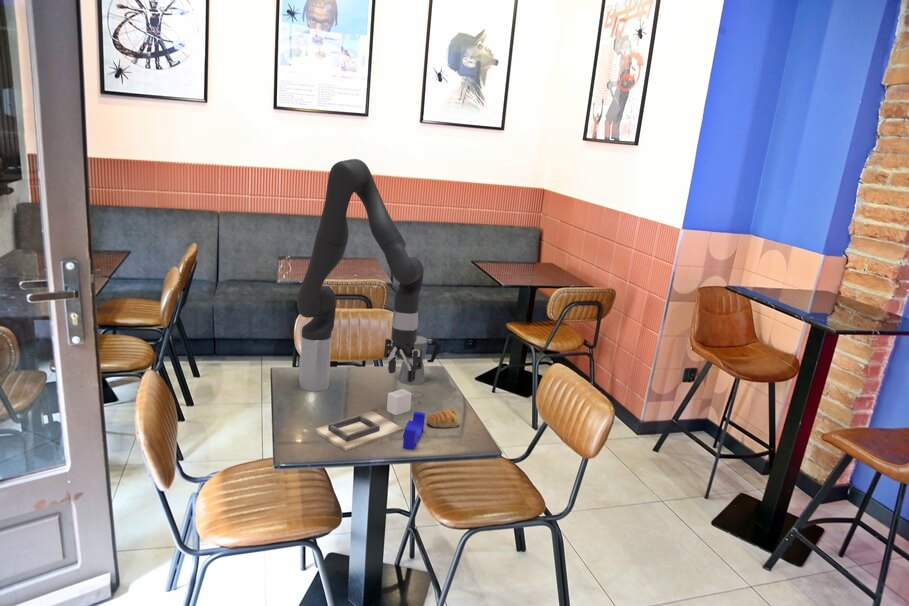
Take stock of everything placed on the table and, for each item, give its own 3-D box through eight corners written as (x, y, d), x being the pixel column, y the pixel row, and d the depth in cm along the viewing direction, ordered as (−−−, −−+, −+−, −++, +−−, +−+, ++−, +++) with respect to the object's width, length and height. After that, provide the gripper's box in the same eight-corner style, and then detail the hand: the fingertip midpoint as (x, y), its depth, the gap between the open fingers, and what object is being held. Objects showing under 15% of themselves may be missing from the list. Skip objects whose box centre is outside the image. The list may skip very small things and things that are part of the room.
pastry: (431, 430, 180) (432, 418, 179) (422, 420, 185) (423, 408, 184) (460, 426, 184) (462, 415, 183) (451, 416, 189) (452, 405, 188)
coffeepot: (390, 383, 211) (394, 333, 207) (394, 373, 220) (398, 325, 216) (435, 388, 211) (440, 337, 206) (437, 378, 220) (442, 329, 215)
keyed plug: (386, 411, 190) (388, 393, 188) (404, 405, 195) (405, 388, 194) (395, 416, 187) (396, 397, 186) (412, 410, 192) (414, 392, 191)
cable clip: (408, 429, 180) (409, 410, 178) (423, 432, 179) (425, 413, 178) (397, 448, 168) (398, 428, 167) (413, 451, 168) (415, 431, 166)
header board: (315, 431, 173) (315, 423, 172) (371, 414, 187) (372, 406, 186) (345, 452, 164) (346, 443, 163) (402, 431, 178) (403, 423, 177)
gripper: (379, 321, 186) (376, 372, 190) (411, 333, 176) (407, 387, 180) (398, 317, 191) (395, 367, 195) (430, 329, 182) (426, 382, 186)
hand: (401, 377), depth 188 cm, fingers open, 8 cm apart
